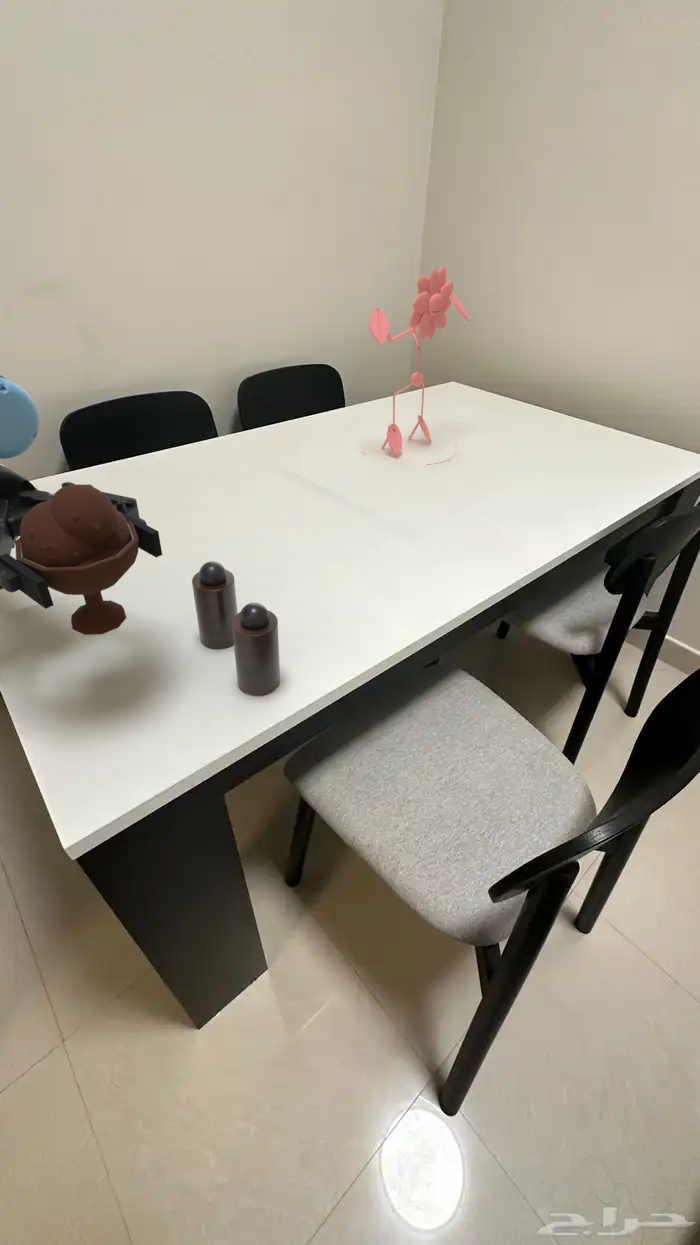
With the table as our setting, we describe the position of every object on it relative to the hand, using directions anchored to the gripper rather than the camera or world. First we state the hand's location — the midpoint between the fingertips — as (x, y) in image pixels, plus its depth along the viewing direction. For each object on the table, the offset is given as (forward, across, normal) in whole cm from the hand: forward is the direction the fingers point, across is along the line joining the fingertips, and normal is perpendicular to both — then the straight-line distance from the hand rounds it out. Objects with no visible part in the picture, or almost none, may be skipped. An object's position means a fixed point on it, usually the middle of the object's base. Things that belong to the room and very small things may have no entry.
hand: (105, 567), depth 54 cm
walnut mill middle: (-2, -14, -18) cm, 23 cm away
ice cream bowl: (-4, 0, -8) cm, 9 cm away
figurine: (-17, -85, -18) cm, 89 cm away
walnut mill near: (+7, -12, -18) cm, 23 cm away
